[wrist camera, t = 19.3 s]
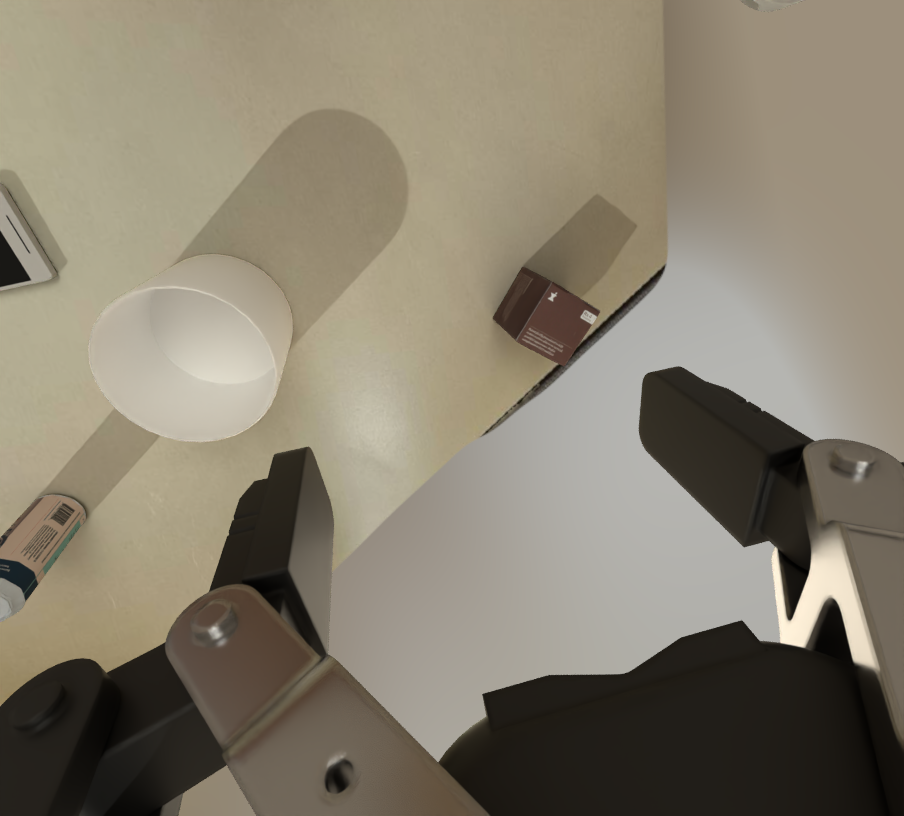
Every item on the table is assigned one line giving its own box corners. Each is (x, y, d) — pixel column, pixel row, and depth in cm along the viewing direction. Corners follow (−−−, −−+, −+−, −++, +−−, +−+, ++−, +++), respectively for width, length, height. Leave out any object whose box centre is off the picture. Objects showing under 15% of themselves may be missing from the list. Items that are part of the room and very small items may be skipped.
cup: (124, 322, 40) (48, 376, 30) (206, 222, 38) (155, 243, 28) (242, 401, 46) (213, 470, 35) (319, 317, 43) (313, 364, 33)
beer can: (26, 491, 45) (-68, 588, 35) (83, 491, 46) (9, 584, 36) (38, 529, 47) (-48, 631, 37) (92, 527, 48) (24, 626, 38)
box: (490, 317, 47) (513, 340, 41) (522, 264, 45) (551, 280, 39) (535, 342, 49) (564, 368, 43) (567, 293, 48) (602, 312, 41)
